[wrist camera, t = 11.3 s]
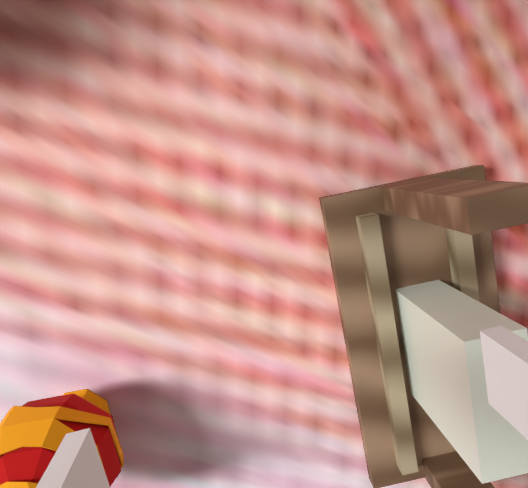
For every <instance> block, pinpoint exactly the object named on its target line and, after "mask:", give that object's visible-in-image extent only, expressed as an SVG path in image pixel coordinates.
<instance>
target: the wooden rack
mask: <svg viewBox="0 0 528 488" xmlns="http://www.w3.org/2000/svg"><path fill="white" fill-rule="evenodd" d="M319 199H320V204H321V210H322V215H323V221H324V227H325V232H326V238H327V243H328V249H329V255H330V260H331V266H332V272H333V277H334V283H335V288H336V294H337V300H338V305H339V311H340V316H341V322H342V328H343V333H344V339H345V345H346V350H347V356H348V361H349V367H350V373H351V378H352V384H353V389H354V395H355V401H356V406H357V412H358V417H359V423H360V429H361V434H362V440H363V446H364V451H365V457H366V462H367V468H368V474H369V479H370V481H371V483H372V485H373V488H380V487H385V486H389V485H393V484H398V483H402V482H406V481H411V480H415V479H419V478H423V477H425V478H426V480H427V481H428V483H429V484H430V486H431V488H494V487H493V486H492V484H491V483H490V482H488V483H484V484H482V483H481V482H480V480H479V479H478V478H477V477H476V475H475V474H474V473H473V472H472V470H471V469H470V468H469V466H468V465H467V464H466V463H465V461H464V460H463V459H462V458H461V456H460V455H459V454H458V452H457V451H456V450H455V449H454V447H453V446H452V445H451V444H450V442H449V441H448V440H447V439H446V437H445V436H444V435H443V433H442V432H441V431H440V430H439V428H438V427H437V426H436V425H435V423H434V422H433V421H432V419H431V418H430V417H429V416H428V414H427V413H426V412H425V411H424V409H423V408H422V407H421V405H420V404H419V403H418V402H417V400H416V399H415V398H414V397H413V395H412V394H411V393H410V388H409V381H408V375H407V368H406V362H405V355H404V348H403V342H402V335H401V329H400V322H399V316H398V309H397V303H396V296H395V290H394V289H398V288H402V287H407V286H411V285H416V284H421V283H425V282H430V281H435V280H440V281H442V282H444V283H446V284H447V285H449V286H451V287H453V288H455V289H457V290H458V291H460V292H462V293H464V294H466V295H467V296H469V297H471V298H473V299H475V300H477V301H478V302H480V303H482V304H484V305H486V306H488V307H489V308H491V309H493V310H495V311H497V312H499V313H500V308H499V299H498V290H497V280H496V271H495V262H494V253H493V244H492V235H491V231H492V230H497V229H502V228H506V227H511V226H516V225H520V224H525V223H528V183H522V182H503V181H486V180H485V170H484V165H477V166H470V167H465V168H460V169H455V170H451V171H446V172H441V173H436V174H431V175H427V176H422V177H417V178H412V179H407V180H403V181H398V182H393V183H388V184H383V185H379V186H374V187H369V188H364V189H359V190H355V191H350V192H345V193H340V194H335V195H331V196H326V197H321V198H319Z"/></svg>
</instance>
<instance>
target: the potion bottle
mask: <svg viewBox="0 0 528 488" xmlns="http://www.w3.org/2000/svg"><path fill="white" fill-rule="evenodd" d="M88 428H90V430H91V433H92V436H93V439H94V442H95V445H96V447H97V450H98V453H99V456H100V459H101V462H102V465H103V468H104V471H105V474H106V477H107V480H108V483H109V486H111V485H112V483H113V482H114V480H115V479H116V477H117V476H118V475H119V473H120V472H121V468H122V467H123V465H124V456H123V451H122V448H121V445H120V443H119V440H118V437H117V433H116V429H115V425H114V421H113V417H112V415H110V411H109V407H108V403H107V400H105V399H103V398H102V397H100V396H98V395H97V394H95V393H93V392H92V391H90V390H88V389H84V390H79V391H74V392H68V393H64V395H62V396H57V397H52V398H46V399H41V400H36V401H30V402H27V403H26V404H24V405H23V406H14V407H12V408H11V409H10V410H9V411H8V413H7V414H6V416H5V417H4V419H3V420H2V422H1V423H0V488H36V487H37V485H38V483H39V481H40V480H41V478H42V476H43V474H44V472H45V471H46V469H47V467H48V465H49V463H50V462H51V460H52V458H53V456H54V455H55V453H56V451H57V449H58V447H59V446H60V444H61V442H62V440H63V438H64V437H65V435H66V434H68V433H72V432H76V431H80V430H84V429H88Z"/></svg>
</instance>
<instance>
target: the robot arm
mask: <svg viewBox="0 0 528 488" xmlns="http://www.w3.org/2000/svg"><path fill="white" fill-rule="evenodd" d="M480 337H481V345H482V353H483V361H484V369H485V378H486V386H487V394H488V402H489V404H490V405H491V406H492V407H493V408H494V409H495V410H496V411H497V412H498V413H499V414H500V415H502V416H503V417H504V418H505V419H506V420H507V421H508V422H509V423H510V424H511V425H512V426H513V427H514V428H515V429H517V430H518V431H519V432H520V433H521V434H522V435H523V436H524V437H525V438H526V439H527V440H528V341H526V340H525V339H523V338H521V337H520V336H518V335H516V334H515V333H513V332H512V331H510V330H508V329H507V328H505V327H503V326H502V325H501V326H497V327H493V328H489V329H485V330H481V331H480ZM36 488H110V486H109V483H108V480H107V477H106V474H105V471H104V468H103V465H102V462H101V459H100V456H99V453H98V450H97V447H96V445H95V442H94V439H93V436H92V433H91V430H90V428H88V429H84V430H80V431H76V432H72V433H68V434H66V435H65V437H64V438H63V440H62V442H61V444H60V446H59V447H58V449H57V451H56V453H55V455H54V456H53V458H52V460H51V462H50V463H49V465H48V467H47V469H46V471H45V472H44V474H43V476H42V478H41V480H40V481H39V483H38V485H37V487H36Z"/></svg>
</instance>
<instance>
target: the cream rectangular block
mask: <svg viewBox="0 0 528 488" xmlns="http://www.w3.org/2000/svg"><path fill="white" fill-rule="evenodd" d="M394 290H395V296H396V303H397V309H398V316H399V322H400V329H401V335H402V342H403V348H404V355H405V362H406V368H407V375H408V381H409V388H410V393H411V394H412V395H413V397H414V398H415V399H416V400H417V402H418V403H419V404H420V405H421V407H422V408H423V409H424V411H425V412H426V413H427V414H428V416H429V417H430V418H431V419H432V421H433V422H434V423H435V425H436V426H437V427H438V428H439V430H440V431H441V432H442V433H443V435H444V436H445V437H446V439H447V440H448V441H449V442H450V444H451V445H452V446H453V447H454V449H455V450H456V451H457V452H458V454H459V455H460V456H461V458H462V459H463V460H464V461H465V463H466V464H467V465H468V466H469V468H470V469H471V470H472V472H473V473H474V474H475V475H476V477H477V478H478V479H479V480H480V482H481V483H482V484H484V483H488V482H492V481H496V480H501V479H505V478H509V477H514V476H518V475H522V474H526V473H528V440H527V439H526V438H525V437H524V436H523V435H522V434H521V433H520V432H519V431H518V430H517V429H515V428H514V427H513V426H512V425H511V424H510V423H509V422H508V421H507V420H506V419H505V418H504V417H503V416H502V415H500V414H499V413H498V412H497V411H496V410H495V409H494V408H493V407H492V406H491V405H490V404H489V402H488V394H487V386H486V378H485V369H484V361H483V353H482V345H481V337H480V331H481V330H485V329H489V328H493V327H497V326H501V325H502V326H503V327H505V328H507V329H508V330H510V331H512V332H513V333H515V334H516V335H518V336H520V337H521V338H523V339H525V340H526V341H528V333H527V328H526V327H524V326H522V325H520V324H519V323H517V322H515V321H513V320H511V319H509V318H508V317H506V316H504V315H502V314H500V313H499V312H497V311H495V310H493V309H491V308H489V307H488V306H486V305H484V304H482V303H480V302H478V301H477V300H475V299H473V298H471V297H469V296H467V295H466V294H464V293H462V292H460V291H458V290H457V289H455V288H453V287H451V286H449V285H447V284H446V283H444V282H442V281H440V280H435V281H430V282H425V283H421V284H416V285H411V286H407V287H402V288H398V289H394Z"/></svg>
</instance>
